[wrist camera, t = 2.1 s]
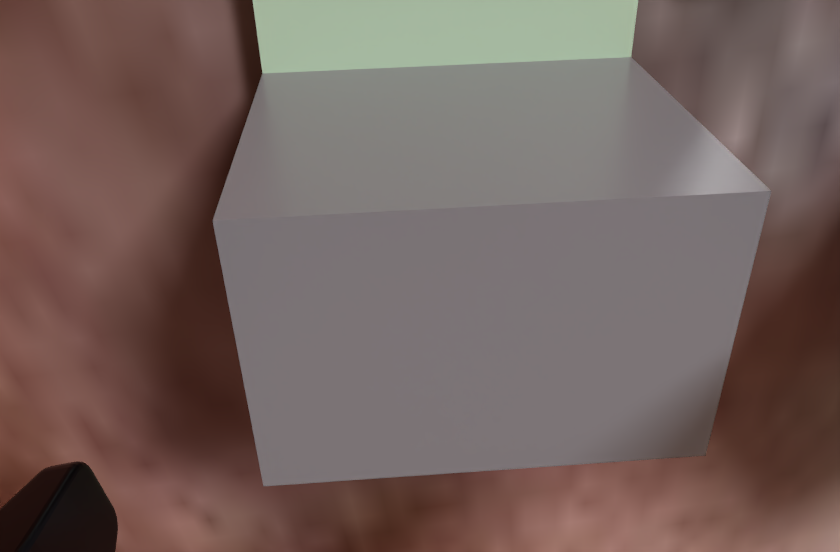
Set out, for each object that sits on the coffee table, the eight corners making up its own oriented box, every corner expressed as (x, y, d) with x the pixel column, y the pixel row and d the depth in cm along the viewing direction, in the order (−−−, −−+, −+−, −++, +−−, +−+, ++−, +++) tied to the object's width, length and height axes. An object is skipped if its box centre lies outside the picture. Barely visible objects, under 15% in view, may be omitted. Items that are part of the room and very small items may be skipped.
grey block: (574, 389, 18) (661, 629, 13) (314, 406, 17) (296, 658, 12) (644, -235, 11) (883, -260, 6) (231, -225, 11) (124, -242, 6)
